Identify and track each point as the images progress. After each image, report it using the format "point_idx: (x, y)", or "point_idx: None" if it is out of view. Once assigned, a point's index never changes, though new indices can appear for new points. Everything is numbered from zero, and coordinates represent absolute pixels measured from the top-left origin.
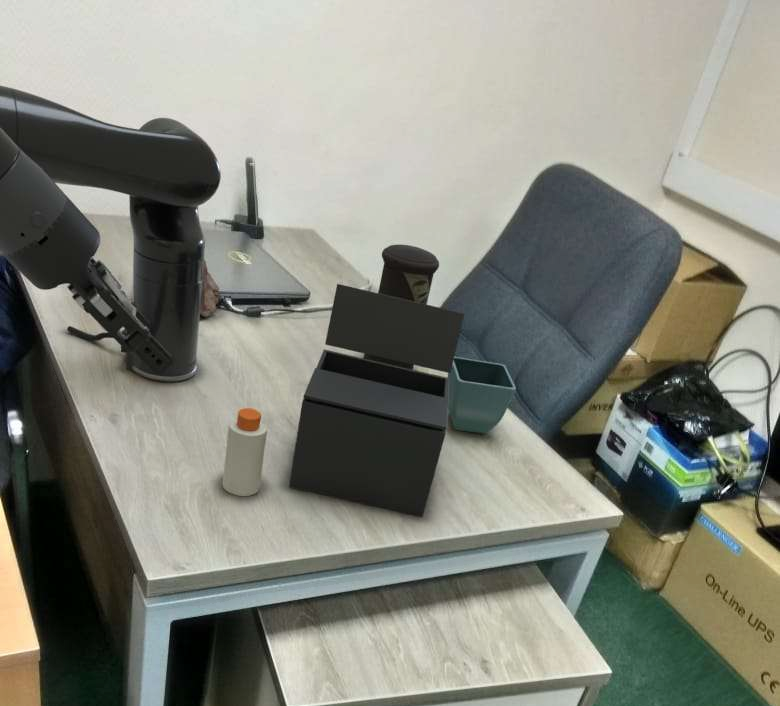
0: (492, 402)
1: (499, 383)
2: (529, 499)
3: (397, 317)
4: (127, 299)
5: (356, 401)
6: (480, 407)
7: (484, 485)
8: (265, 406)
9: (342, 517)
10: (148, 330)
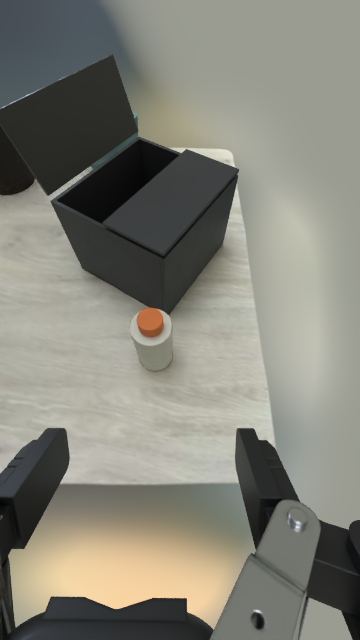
0: (131, 138)
1: None
2: None
3: (74, 107)
4: (265, 626)
5: (184, 214)
6: None
7: None
8: (31, 290)
9: (215, 293)
10: (300, 509)
